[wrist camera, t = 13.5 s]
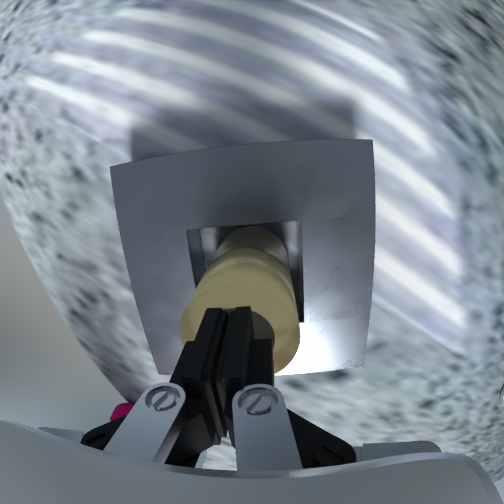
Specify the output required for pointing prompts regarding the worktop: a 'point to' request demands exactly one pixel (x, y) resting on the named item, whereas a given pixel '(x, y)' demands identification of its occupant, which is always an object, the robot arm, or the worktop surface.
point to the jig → (252, 212)
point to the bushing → (250, 290)
